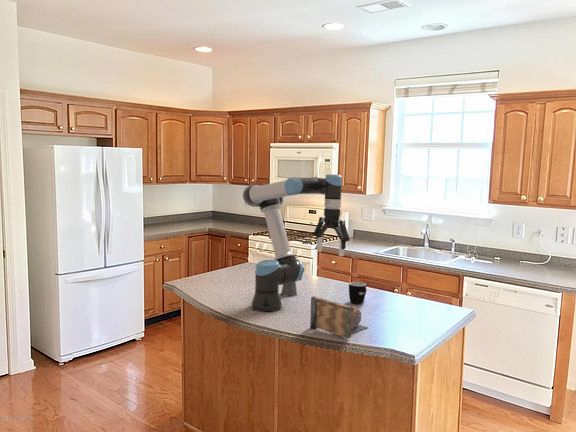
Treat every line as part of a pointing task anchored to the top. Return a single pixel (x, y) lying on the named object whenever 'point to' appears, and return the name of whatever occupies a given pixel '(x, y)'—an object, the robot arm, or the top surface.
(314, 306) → the gate post
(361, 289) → the mug
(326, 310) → the gate
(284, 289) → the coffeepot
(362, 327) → the mat
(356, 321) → the food item
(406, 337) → the top surface
